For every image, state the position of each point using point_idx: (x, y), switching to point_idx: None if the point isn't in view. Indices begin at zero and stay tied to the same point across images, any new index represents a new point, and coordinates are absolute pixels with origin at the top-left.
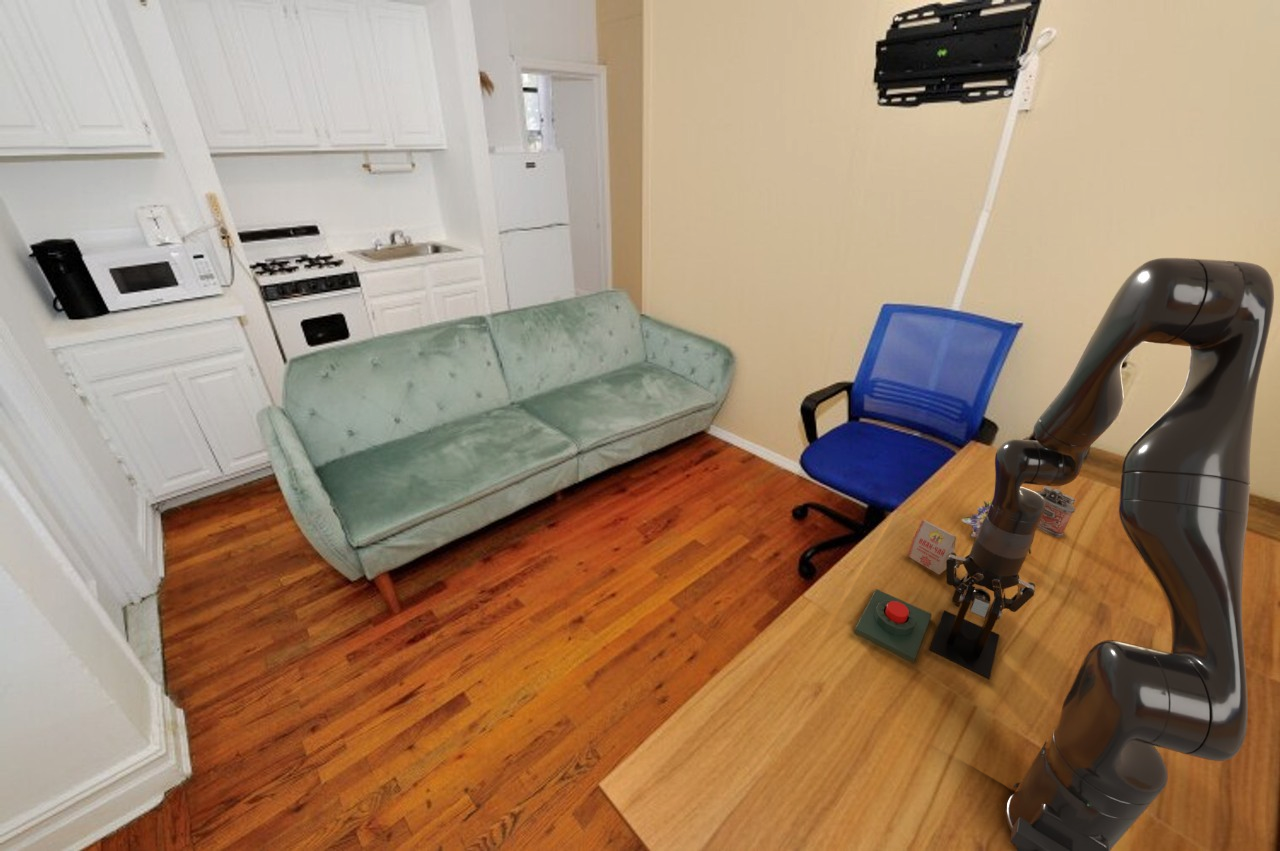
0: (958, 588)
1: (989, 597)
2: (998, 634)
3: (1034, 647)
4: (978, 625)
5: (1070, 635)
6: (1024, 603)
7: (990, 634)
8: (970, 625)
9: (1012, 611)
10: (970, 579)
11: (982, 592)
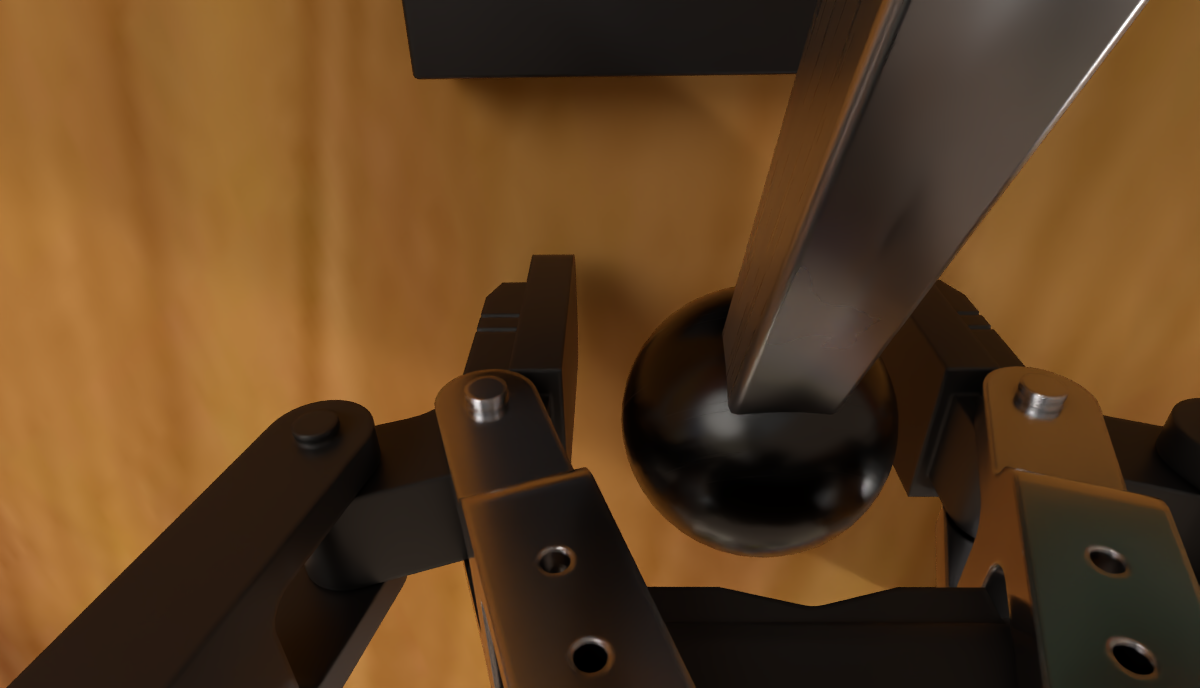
0: (1075, 405)
1: (651, 460)
2: (422, 70)
3: (140, 190)
4: (646, 70)
5: (45, 487)
6: (105, 595)
7: (496, 4)
8: (732, 2)
9: (324, 401)
10: (1190, 654)
11: (779, 488)
